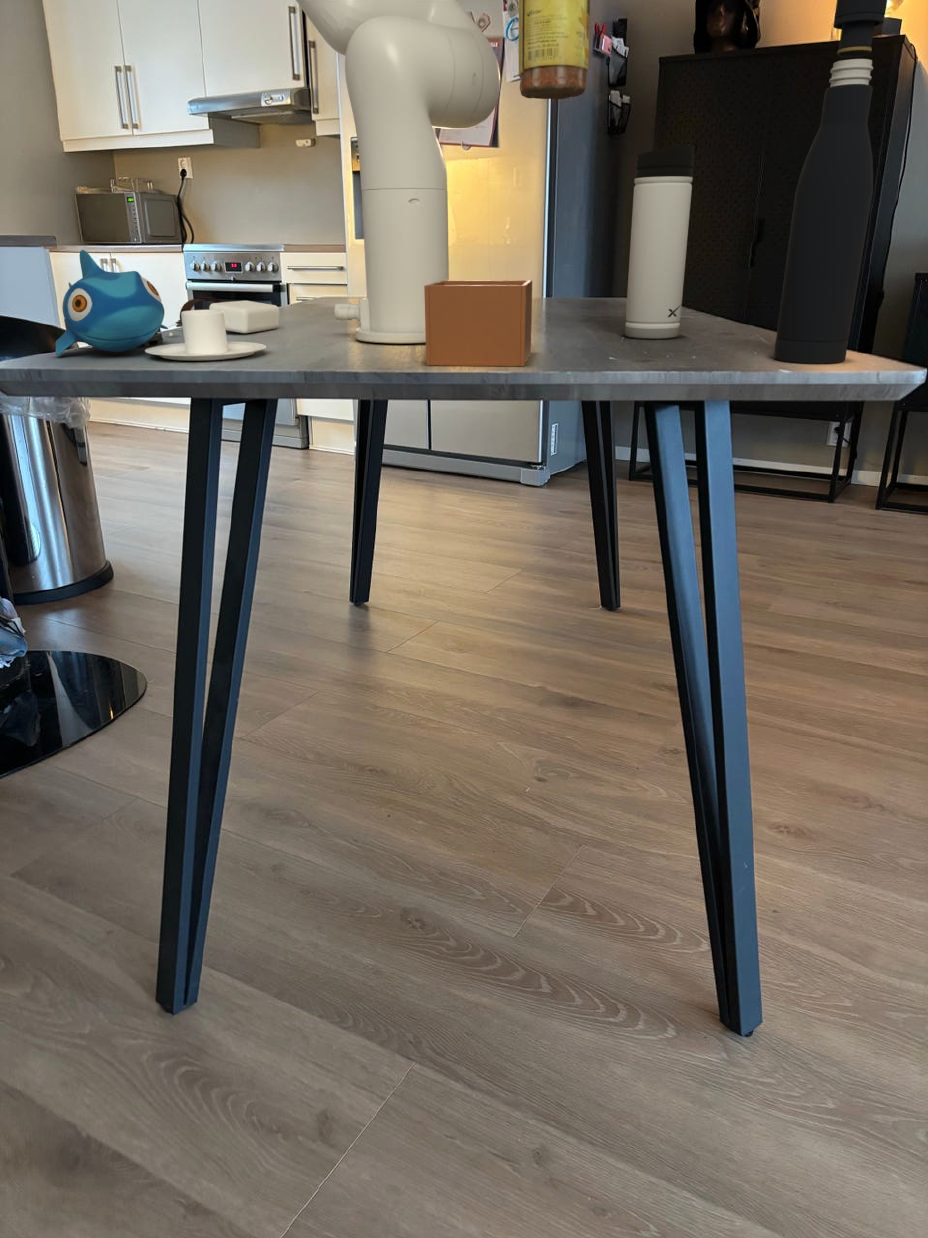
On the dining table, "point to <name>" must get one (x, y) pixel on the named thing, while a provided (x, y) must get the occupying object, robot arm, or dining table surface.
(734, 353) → the dining table surface
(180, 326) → the witch figurine
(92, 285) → the toy
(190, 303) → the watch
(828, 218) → the black water bottle
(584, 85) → the sauce bottle
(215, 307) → the soap
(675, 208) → the travel mug
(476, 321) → the box
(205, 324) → the candle holder
